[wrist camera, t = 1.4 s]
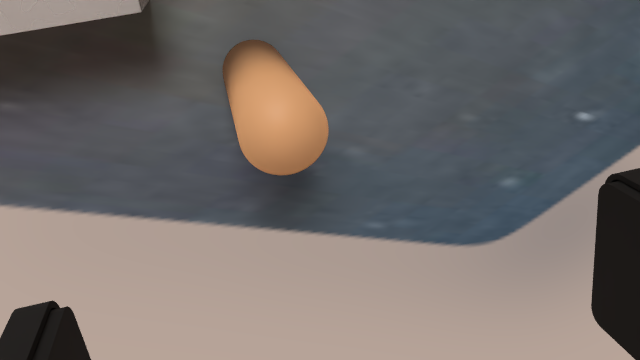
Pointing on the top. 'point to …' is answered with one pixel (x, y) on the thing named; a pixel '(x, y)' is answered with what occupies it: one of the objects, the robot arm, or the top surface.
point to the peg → (272, 110)
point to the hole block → (60, 12)
